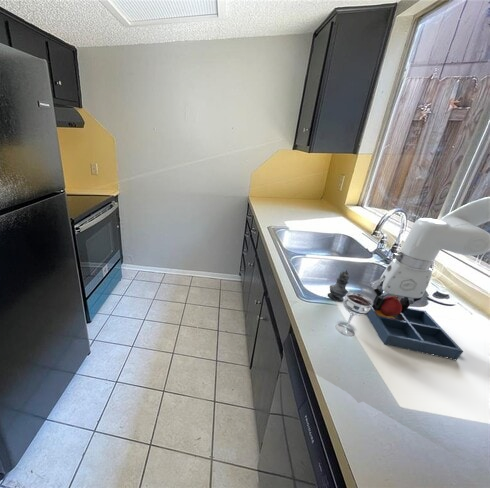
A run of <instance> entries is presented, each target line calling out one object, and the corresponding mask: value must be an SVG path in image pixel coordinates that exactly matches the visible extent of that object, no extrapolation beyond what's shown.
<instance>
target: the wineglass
mask: <svg viewBox="0 0 490 488" xmlns="http://www.w3.org/2000/svg"><path fill="white" fill-rule="evenodd" d="M343 298H344V301H343V302H342V303H343V304H342V305H343V307H344V309H345V310H346V312H347V313H349V318H348V319H347V322H346V324H342V323H338V324H336V325H335V329H336V330H337V332H339V333H341V334H342V335H344V336H348V337H354V336H355V331H354V330H353V329H352V328H351V326H349V325H350V323H351V321H352V320H353V318H354V316H356V317H361V316H366V314H368V313H369V312H370V311H371V306H373V304H374V303H373V301H374V300H372V299H371V298H370V297H368V296H367V295H365V294H362V293H361V292H360V293H359V292H354V291H350V292H349V291H348V293H347V294H346V296H344V297H343Z"/></svg>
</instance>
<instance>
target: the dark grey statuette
mask: <svg viewBox="0 0 490 488" xmlns="http://www.w3.org/2000/svg"><path fill="white" fill-rule="evenodd" d="M348 271H349V270H348V269H346V270H343V271H340V273H339V275H338V277H337V278H336V283H335V284H331V285H329V292H328V293H327V297H328V298H329V299H330V300H331V301H334V302H337V303H343V301H344V298H345V297H347V296H346V294H347V293H349V291H348V289H347V288H346V287H347V285H348V284H349V279H350V277H351V273H350V272H348Z"/></svg>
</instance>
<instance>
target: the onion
mask: <svg viewBox="0 0 490 488" xmlns="http://www.w3.org/2000/svg"><path fill="white" fill-rule="evenodd" d="M379 310H380V311H381V312H382V313H383V315H385V316H396V315H398V314H400V313H401V311H402V304H401V302H400V300H399V295H393V296H392V295H390V296H389V295H387V296H385V297H384V302H383V304H382V306H381V308H380V309H379Z"/></svg>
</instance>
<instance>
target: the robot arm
mask: <svg viewBox="0 0 490 488" xmlns="http://www.w3.org/2000/svg"><path fill="white" fill-rule="evenodd" d="M488 222H490V196H487V197H482V198H479V199H477V200H473V201H470V202H468V203H466V204H464V205H462V206H459V207H458V208H456V209H455V210H453V211H451V212H448V213H447V214H446V215H444V216H442V217H440V218H439V220H438V219H435V218H428V217H423V218H422V217H421V218H418V219H416V220H415V221H414V223H413V224H412V226H411V228H410V230H409V232H408V234H407V236H406V239H405V240H404V241H403V244H402V246H401V248H400V250H399V251H398V253H392V258H393V259H392V260H391V261H390V263H389V264H388V265H387V266H386V268H385V269H384V271H383V273H382V274H381V276H380V277H379V278H378V279H376V280H373V281H371V282H369V284H368V285H369V286H370V287H371V289H372V290H373V291H374V293H375V294H376V295H375V297H374V299H373V300H372V301H373V303H374V305H375V306H376V308H377V309H380V308H381V306H382V304H383V302H384V298H385V297H387V296H389V295H393V296H398V297H399V296H400V297H401V298H400V300H399V301H400V302H401V304H402V311H401V313H402V314H404V313H405V311H406V310H407V309H408V308H410V305H413V304H414V303H415V302H418V301H421V300H422V299H424V298H428V297H429V295H430V294H429V293H428V291H427V288H428V286H429V284H430V281H431V278H432V274H433V269H432V268H431V267H432V265H433V263H434V262H435V259H436V258H437V256H438V254H439V252H440V251H441V250H443V251H448V252H451V253H454V254H457V255H461V256H470V257H471V256H473V257H474V256H481V255H484V254H486V253H488V252H490V232H488V231H487V230H485V229H483V228H480V227H479V226H481V225H483V224H485V223H488ZM378 287H379V288H378Z"/></svg>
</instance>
